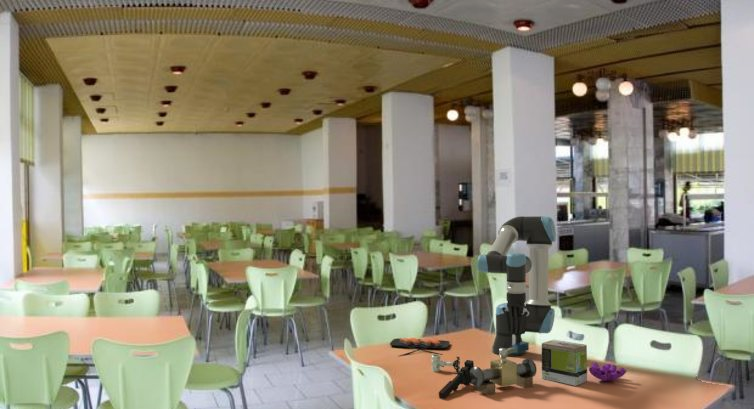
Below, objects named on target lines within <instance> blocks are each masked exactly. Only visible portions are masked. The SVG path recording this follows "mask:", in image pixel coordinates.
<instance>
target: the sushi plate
mask: <svg viewBox="0 0 754 409" xmlns="http://www.w3.org/2000/svg"><path fill="white" fill-rule="evenodd" d="M450 343H451V342H450V341H449V340H442V339H440V340H439V339H437V338H429V339H427V338H422V339H421V338H418V339H417V338H416V337H410V338H407V337H403V338H393V339H391V341H390V343H389V346H392V347H398V348H400V347H401V348H410V349H415V350H413V351H410V352H407V353H403V354H400V355H397V357H403V356H407V355H410V354H413V353H415V352H419V351H422V352H426V353H429V354H432V355H433V354H438V355H440V356H442V355H444V354H442V353H439V352H435V351H429V350H426V349H435V350H436V349H438V350H440V349H447V348H448V347H449V346H450Z"/></svg>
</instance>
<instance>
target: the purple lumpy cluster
mask: <svg viewBox="0 0 754 409" xmlns="http://www.w3.org/2000/svg"><path fill="white" fill-rule="evenodd" d="M588 371H589V373H590V375H592V376H593V377H594V378H596V379H598V380H601V381H603V382H613V381H616V380H618V379H620V378H622V377H623V376H625V375H626V373H627V370H626V368H624V367H621V368H619V369H618V368H617V365H615V364H611V363H606V364H605V365H601V367H600V365H599V364H598V362H593V363H592V364H591V366H590V367H589V368H588Z"/></svg>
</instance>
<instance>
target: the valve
mask: <svg viewBox="0 0 754 409" xmlns="http://www.w3.org/2000/svg"><path fill="white" fill-rule="evenodd" d="M430 357H431V361H430V365H431V367H430V368H431V369H430V370H431V371H432V372H434V373H435V372H436V373H437V372H440V371H441V368H445V367H446V366H447V367H451V366H452V367H453V369H454V370H455V372H456V373H457V372H458V371H460V369H461V367H460V364H461V361H460V360H461V358H460V356H456V359H455V360H454V361H453V362H451V361H446V360H445V359H442V360H441V355H440V354H433V353H432V354H431V356H430Z"/></svg>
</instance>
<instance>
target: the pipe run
mask: <svg viewBox="0 0 754 409" xmlns="http://www.w3.org/2000/svg"><path fill="white" fill-rule="evenodd" d="M536 375H537V365H536V363H535V362H534V360H533V359H531V358H525V359H523V360H522V362H521V363H517V362H516V361H515V362H514V361H512V360H510V359H507V358H501V357H500V359H493V360H490V368H485V369H484V368H483V369H481V367H479V366H474V367H473V368H471V370H470V380H471V382H472V383H471V384H472V385H473V390H474V391H477V392H479V393H481V394H484V395H486V396H488V395H489V396H490V395H495V394H496V385H498V386H500V387H506V386H512V385H516V386H519V387H521V388H524V389H528V388H532V387H533V386H534V384H533V383H534V380H533V378H534V377H535V376H536Z"/></svg>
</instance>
